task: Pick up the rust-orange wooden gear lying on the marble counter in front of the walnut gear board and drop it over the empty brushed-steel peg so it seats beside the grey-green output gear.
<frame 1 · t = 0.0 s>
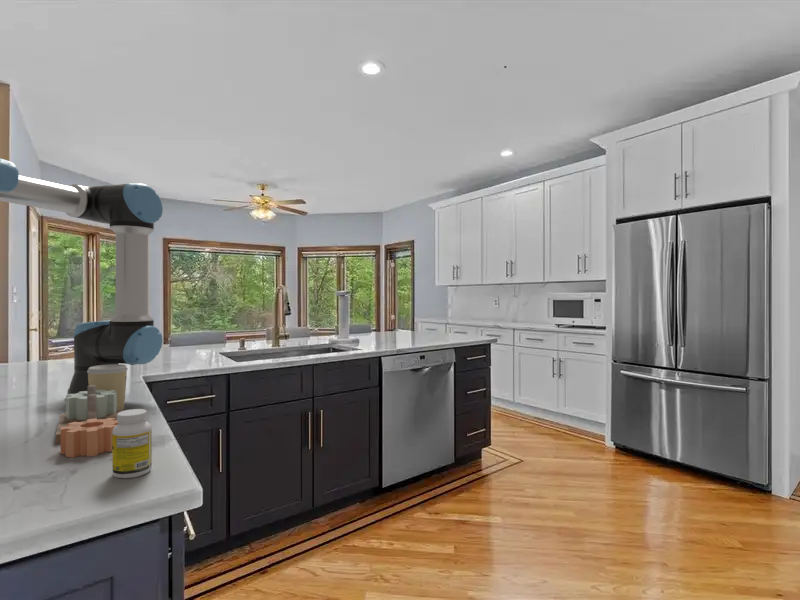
rust gear: (92, 448, 99), on the countertop
gear board: (91, 427, 114), on the countertop
output gear: (91, 414, 119), resting on gear board
pill bottle: (132, 474, 86), on the countertop
coffee cup: (107, 411, 130), on the countertop
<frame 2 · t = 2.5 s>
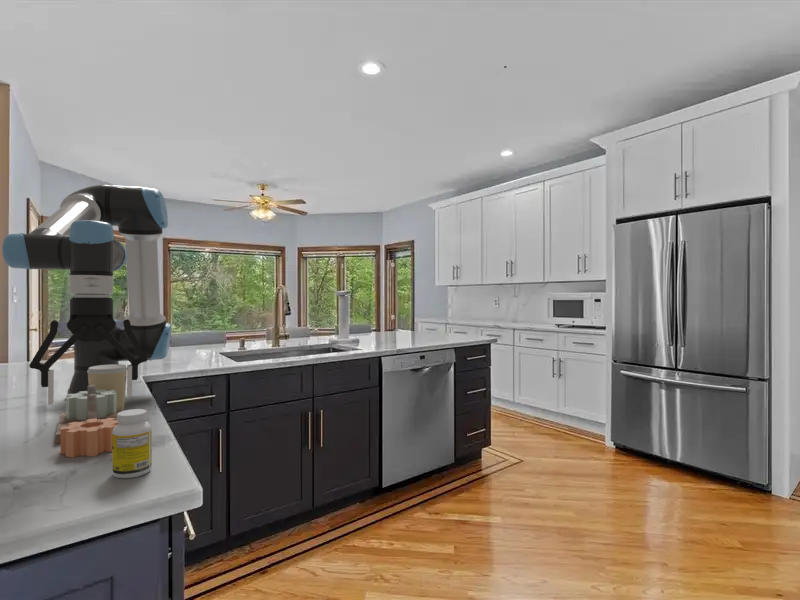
hand: (91, 399, 98), 10 cm above the countertop, fingers open, 13 cm apart
nothing on the countertop moved.
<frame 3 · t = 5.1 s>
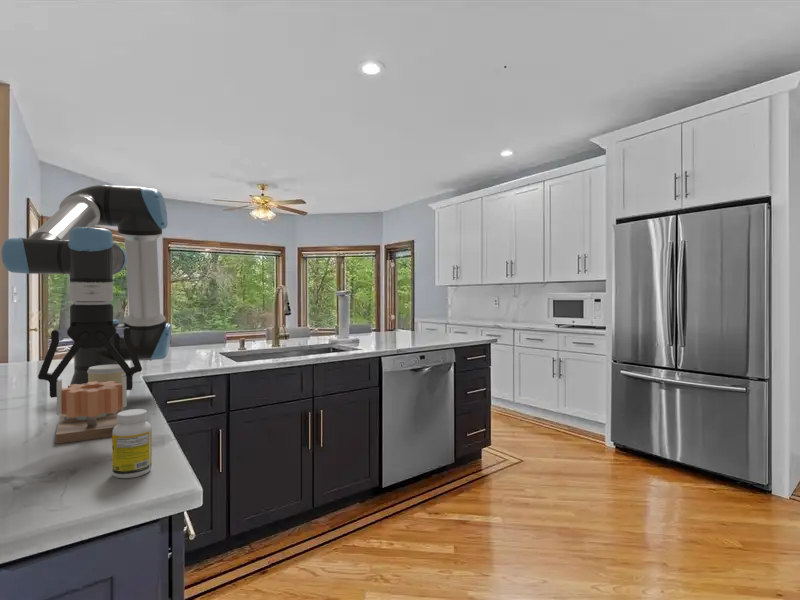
hand: (92, 409, 99), 8 cm above the countertop, fingers closed on rust gear, 11 cm apart
rust gear: (92, 410, 99), point 8 cm above the countertop, touching gripper
everything else where it was.
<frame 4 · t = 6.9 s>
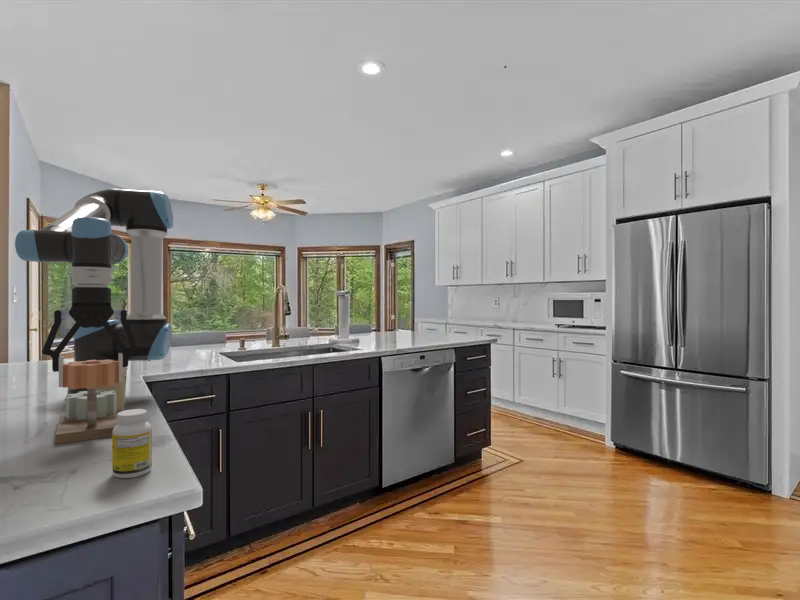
hand: (91, 383, 108), 12 cm above the countertop, fingers closed on rust gear, 11 cm apart
rust gear: (91, 384, 108), point 11 cm above the countertop, touching gripper
everything else where it was.
when the fingers open (4 cm above the countertop, at t = 8.8 s): rust gear drops 2 cm, resting on gear board.
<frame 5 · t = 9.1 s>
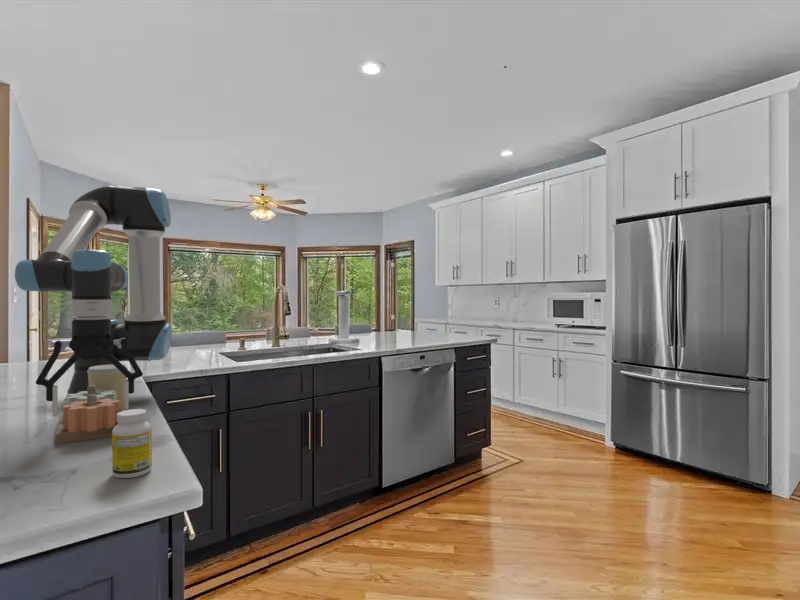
hand: (92, 411, 108), 5 cm above the countertop, fingers open, 13 cm apart
rust gear: (91, 425, 109), point 2 cm above the countertop, touching gear board
everything else where it was.
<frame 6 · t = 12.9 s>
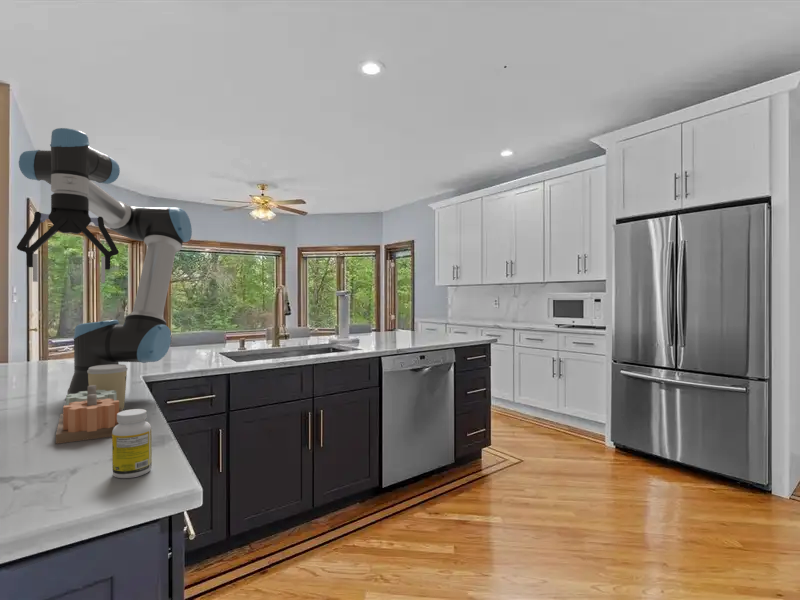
hand: (70, 282, 116), 35 cm above the countertop, fingers open, 13 cm apart
nothing on the countertop moved.
at the end: rust gear 0.1 cm from the target spot, point 2.0 cm above the countertop; rust gear tilted 0°; the gripper is holding nothing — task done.
